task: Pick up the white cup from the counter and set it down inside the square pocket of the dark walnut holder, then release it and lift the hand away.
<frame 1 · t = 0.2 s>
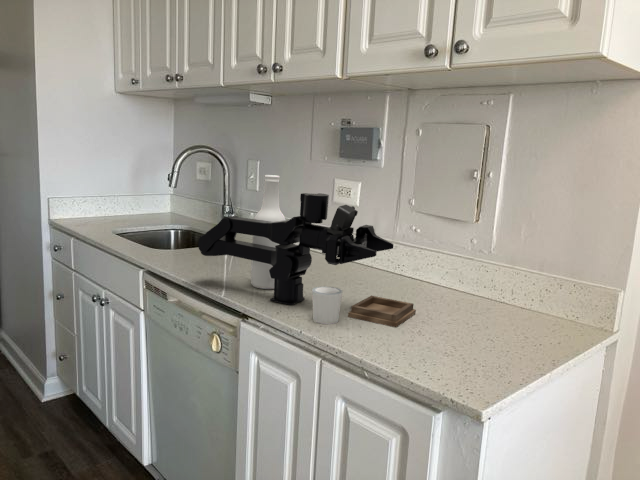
hand: (384, 249, 117), 16 cm above the worktop, tool horizontal, fingers open, 9 cm apart
white cup: (325, 320, 119), on the worktop
walnut holder: (382, 315, 124), on the worktop
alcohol: (266, 286, 145), on the worktop, touching arm
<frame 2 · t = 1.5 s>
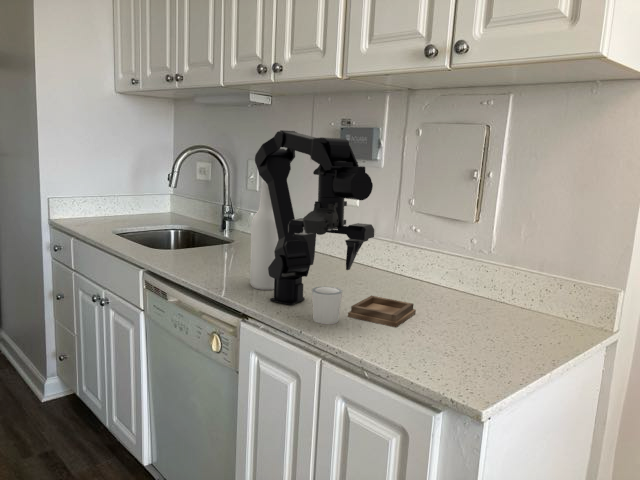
hand: (329, 267, 117), 12 cm above the worktop, tool pointing down, fingers open, 9 cm apart
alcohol: (266, 286, 145), on the worktop
everything else where it was.
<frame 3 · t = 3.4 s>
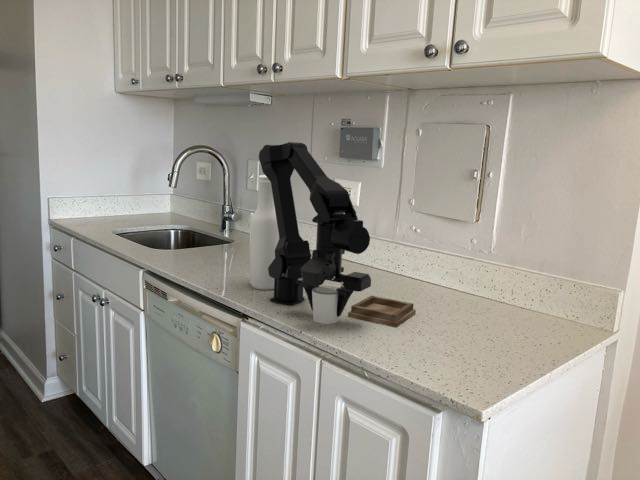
hand: (326, 313, 119), 2 cm above the worktop, tool pointing down, fingers closed on white cup, 6 cm apart
white cup: (325, 320, 119), on the worktop, touching gripper
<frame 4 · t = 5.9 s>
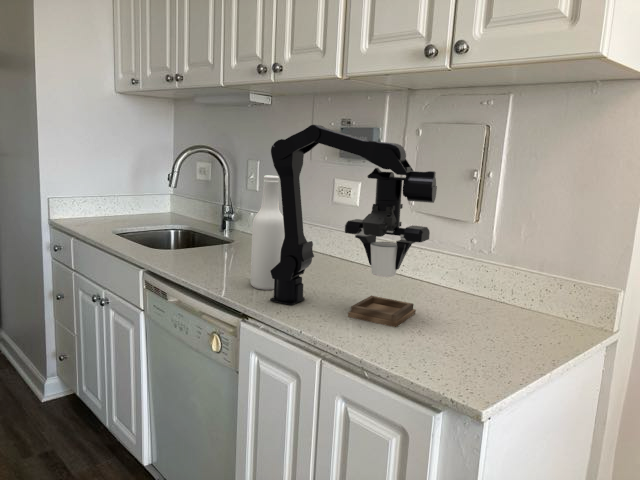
hand: (384, 267, 122), 12 cm above the worktop, tool pointing down, fingers closed on white cup, 6 cm apart
white cup: (383, 274, 122), point 10 cm above the worktop, touching gripper
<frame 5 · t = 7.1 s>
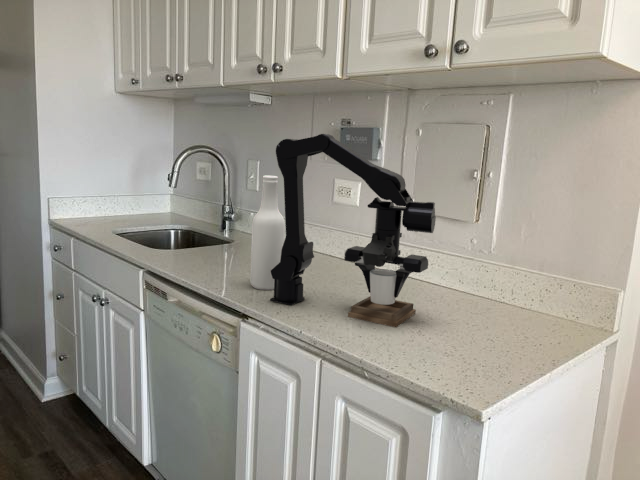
hand: (383, 294, 123), 5 cm above the worktop, tool pointing down, fingers closed on white cup, 6 cm apart
white cup: (382, 301, 124), point 3 cm above the worktop, touching gripper
everything else where it was.
when the fingers open (4 cm above the worktop, at t = 8.2 s): white cup drops 1 cm, resting on walnut holder.
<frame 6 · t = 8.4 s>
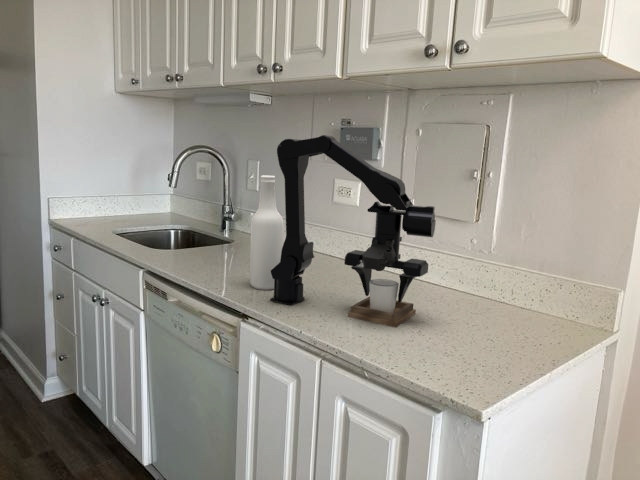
hand: (383, 298, 124), 4 cm above the worktop, tool pointing down, fingers open, 8 cm apart
white cup: (382, 311, 124), point 1 cm above the worktop, touching walnut holder
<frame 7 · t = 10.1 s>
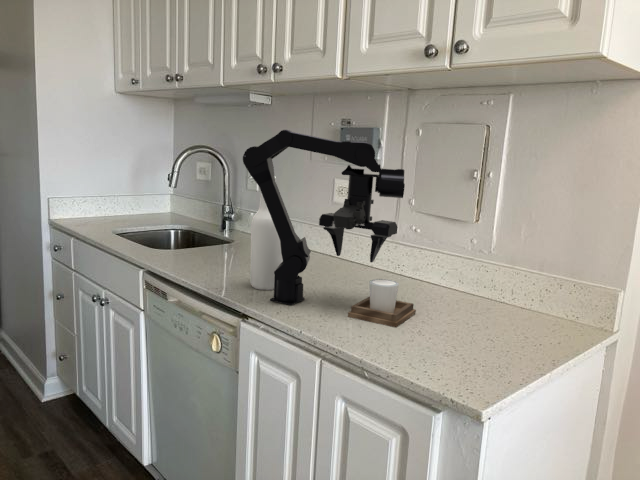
hand: (354, 258, 129), 12 cm above the worktop, tool pointing down, fingers open, 9 cm apart
nothing on the worktop moved.
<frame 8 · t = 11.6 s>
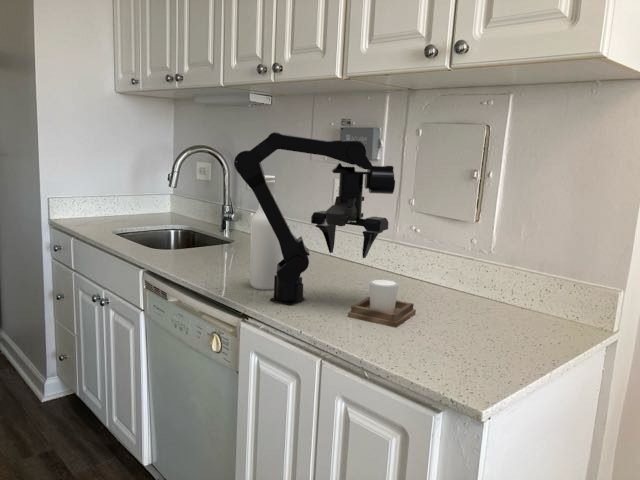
hand: (347, 255, 131), 12 cm above the worktop, tool pointing down, fingers open, 9 cm apart
nothing on the worktop moved.
at the end: white cup 0.1 cm off-centre on the walnut holder, point 0.8 cm above the walnut holder's base; white cup tilted 0°; the gripper is holding nothing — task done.
